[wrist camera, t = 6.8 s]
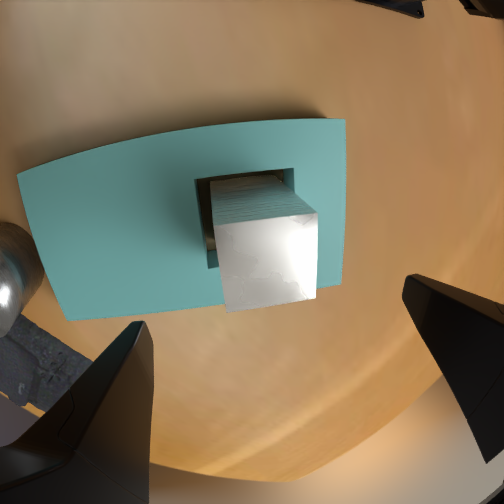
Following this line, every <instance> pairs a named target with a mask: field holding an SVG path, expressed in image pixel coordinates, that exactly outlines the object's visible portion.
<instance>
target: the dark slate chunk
mask: <svg viewBox="0 0 504 504" xmlns="http://www.w3.org/2000/svg"><path fill="white" fill-rule="evenodd" d="M92 363H93V361H91V360H90V359H88V358H86V357H85V356H83V355H82V354H80V353H78V352H76V351H74V350H73V349H72V348H70V347H69V346H67V345H66V344H64V343H63V342H61V341H60V340H59V339H57V338H56V337H54V336H52V335H51V334H50V333H48V332H46V331H45V330H43V329H41V328H39V327H38V326H37V325H36V324H35V323H33V322H31V321H30V320H29V319H27V318H26V317H25V316H24V315H22V314H20V315H19V316H18V318H17V319H16V321H15V322H14V324H13V325H12V327H11V328H10V330H9V331H8V333H7V334H6V335H5V336H3V337H0V391H1V392H3V393H4V394H6V395H7V396H8V397H9V399H10V400H11V401H12V402H14V403H15V404H16V405H18V406H26V404H27V403H28V402H29V403H31V404H32V405H34V406H35V407H36V408H38V409H40V410H43V411H45V412H47V411H48V410H49V409H50V408H51V407H52V406H53V405H54V404H55V403H56V402H57V401H58V400H59V399H60V397H61V396H62V395H63V394H64V393H65V392H66V391H67V390H68V389H70V387H71V386H72V384H73V383H74V382H75V381H76V380H77V379H78V378H79V377H80V376H81V375H82V374H83V373H84V371H85V370H86V369H87V368H88V367H89V366H90V365H91V364H92Z"/></svg>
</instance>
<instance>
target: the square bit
mask: <svg viewBox="0 0 504 504" xmlns="http://www.w3.org/2000/svg"><path fill="white" fill-rule="evenodd" d="M210 190H211V204H212V216H213V227H214V234H215V241H216V248H217V255H218V262H219V268H220V275H221V281H222V287H223V294H224V300H225V306H226V312H227V313H228V312H235V311H242V310H248V309H255V308H261V307H267V306H273V305H279V304H285V303H291V302H296V301H302V300H307V299H313V298H315V297H316V274H317V233H318V213H317V212H316V211H315V210H314V209H313V208H311V207H310V206H309V205H308V204H307V203H306V202H305V201H303V200H302V199H301V198H300V197H299V196H298V195H297V194H295V193H294V192H293V191H292V190H291V189H289V188H288V187H287V186H286V185H285V184H284V183H282V182H281V181H280V180H279V179H278V178H276V177H275V176H274V175H273V174H271V175H261V176H251V177H242V178H234V179H226V180H218V181H210Z"/></svg>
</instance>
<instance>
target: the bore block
mask: <svg viewBox="0 0 504 504" xmlns="http://www.w3.org/2000/svg"><path fill="white" fill-rule="evenodd" d="M275 169H283V179H284V184H285V185H286V186H287V187H288V188H289V189H291V190H292V191H293V192H294V193H295V194H297V195H298V196H299V197H300V198H301V199H302V200H303V201H305V202H306V203H307V204H308V205H309V206H310V207H311V208H313V209H314V210H315V211H316V212H317V213H318V233H317V274H316V289H318V288H323V287H329V286H334V285H339V284H341V277H342V264H343V250H344V233H345V208H346V133H345V119H334V118H302V119H276V120H260V121H247V122H236V123H226V124H218V125H209V126H202V127H195V128H188V129H182V130H175V131H170V132H164V133H159V134H153V135H148V136H143V137H139V138H134V139H129V140H125V141H121V142H116V143H112V144H108V145H104V146H100V147H97V148H93V149H89V150H86V151H82V152H79V153H75V154H72V155H69V156H66V157H62V158H59V159H56V160H53V161H50V162H47V163H44V164H42V165H39V166H36V167H33V168H31V169H28V170H26V171H23V172H21V173H18V174H17V179H18V183H19V188H20V192H21V196H22V200H23V204H24V208H25V212H26V215H27V219H28V222H29V226H30V229H31V232H32V235H33V238H34V241H35V244H36V247H37V250H38V253H39V256H40V259H41V261H42V264H43V267H44V269H45V272H46V274H47V277H48V279H49V282H50V284H51V286H52V289H53V291H54V293H55V296H56V298H57V300H58V302H59V305H60V307H61V309H62V311H63V313H64V315H65V317H66V319H67V321H74V320H87V319H99V318H110V317H120V316H130V315H140V314H149V313H158V312H167V311H175V310H183V309H191V308H198V307H206V306H213V305H220V304H225V300H224V294H223V287H222V281H221V275H220V268H219V262H218V255H217V250H212V251H207V246H206V240H205V234H204V227H203V221H202V214H201V208H200V201H199V194H198V187H197V180H196V179H199V178H206V177H213V176H220V175H228V174H236V173H245V172H254V171H264V170H275Z"/></svg>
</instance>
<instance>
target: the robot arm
mask: <svg viewBox="0 0 504 504" xmlns="http://www.w3.org/2000/svg"><path fill="white" fill-rule="evenodd" d="M356 1H358V2H362V3H367V4H371V5H375V6H379V7H382V8H386V9H390V10H393V11H396V12H400V13H403V14H406V15H409V16H412V17H415V18H418V19H420V18H423V17H424V11H423V6H422V1H425V0H356ZM459 1H460V2H461V4H462V5H463V6H464V9H465V10H466V11H467V12H468V13H469V14H470V15H477V16H484V17H490V18H495V19H499V20H504V0H459ZM418 13H419V14H418ZM402 300H403V302H404V304H405V306H406V308H407V310H408V312H409V314H410V316H411V318H412V320H413V322H414V324H415V326H416V328H417V330H418V332H419V334H420V335H421V337H422V339H423V341H424V342H425V344H426V345H427V347H428V349H429V351H430V352H431V354H432V356H433V357H434V359H435V361H436V363H437V364H438V366H439V368H440V370H441V371H442V373H443V375H444V377H445V379H446V381H447V382H448V384H449V386H450V388H451V390H452V392H453V394H454V396H455V398H456V400H457V402H458V403H459V405H460V407H461V409H462V411H463V414H464V416H465V418H466V419H467V422H468V424H469V426H470V429H471V431H472V433H473V435H474V437H475V440H476V442H477V444H478V446H479V449H480V451H481V454H482V456H483V458H484V461H485V462H486V464H487V463H488V462H489V461H491V460H492V459H493V458H494V457H495V456H497V455H498V454H499V453H500V452H501V451H502V450H504V305H503V304H500V303H497V302H494V301H492V300H489V299H487V298H484V297H481V296H478V295H476V294H473V293H470V292H467V291H465V290H462V289H459V288H456V287H454V286H451V285H448V284H445V283H442V282H439V281H437V280H434V279H431V278H428V277H425V276H422V275H419V274H412V275H408V276H407V277H406V279H405V283H404V287H403V292H402ZM153 394H154V359H153V341H152V338H151V335H150V332H149V330H148V327H147V325H146V323H145V321H133V322H131V323H130V324H129V325H128V326H127V327H126V328H125V329H124V330H123V331H122V332H121V334H120V335H119V336H118V337H117V338H116V339H115V340H114V341H113V342H112V343H111V344H110V345H109V346H108V347H107V348H106V349H105V350H104V351H103V352H102V353H101V354H100V355H99V357H98V358H97V359H96V360H95V361H94V362H93V363H92V364H91V365H90V366H89V367H88V368H87V369H86V370H85V371H84V373H83V374H82V375H81V376H80V377H79V378H78V379H77V380H76V381H75V382H74V383H73V384H72V386H71V387H70V389H68V390H67V391H66V392H65V393H64V394H63V395H62V396H61V397H60V399H59V400H58V401H57V402H56V403H55V404H54V405H53V406H52V407H51V408H50V409H49V410H48V411H47V412H46V413H45V414H44V415H43V416H42V417H41V418H40V419H39V420H38V421H36V422H35V423H34V424H33V425H32V426H31V427H30V428H29V429H28V430H27V431H26V432H25V433H24V434H22V435H21V436H20V437H19V438H18V439H17V440H16V441H14V442H13V443H11V444H9V445H6V446H3V447H0V504H149V458H150V435H151V419H152V405H153ZM479 504H504V480H503V484H502V485H501V486H500V487H499V488H498V489H496V490H495V491H494V492H493V493H492V494H491V495H489V496H488V497H487V498H486V499H484V500H483V501H482V502H481V503H479Z"/></svg>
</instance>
